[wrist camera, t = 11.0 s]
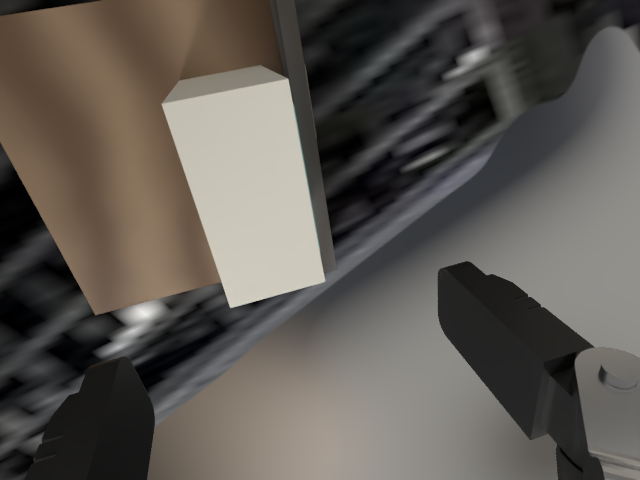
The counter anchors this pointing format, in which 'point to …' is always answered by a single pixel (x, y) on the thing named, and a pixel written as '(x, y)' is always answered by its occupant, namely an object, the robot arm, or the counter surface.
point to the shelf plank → (134, 131)
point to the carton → (248, 180)
